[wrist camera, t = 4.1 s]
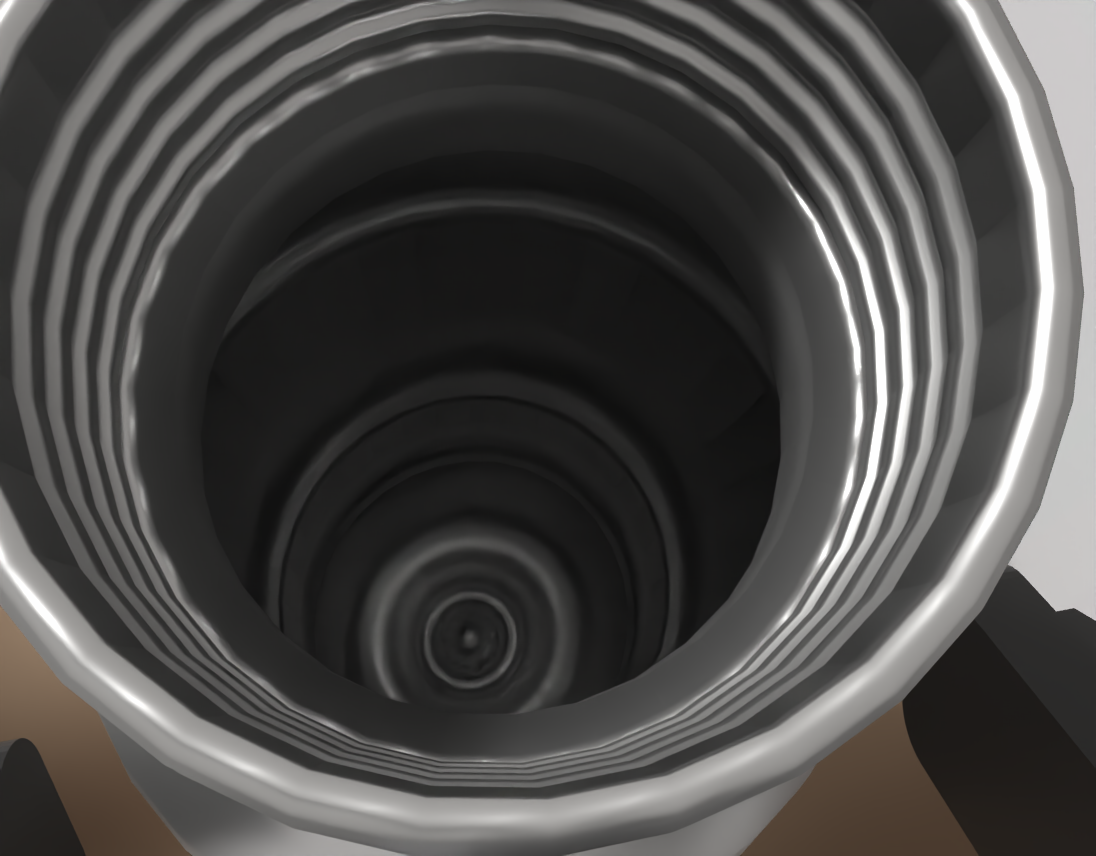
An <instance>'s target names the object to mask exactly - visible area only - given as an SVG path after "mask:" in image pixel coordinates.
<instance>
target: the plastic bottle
mask: <svg viewBox="0 0 1096 856" xmlns="http://www.w3.org/2000/svg"><path fill="white" fill-rule="evenodd" d="M1083 298H1084V287H1083V277H1082V267H1081V257H1080V247H1079V237H1078V226H1077V216H1076V206H1075V196H1074V187H1073V184H1072V181H1071V177H1070V174H1069V171H1068V167H1067V164H1066V161H1065V157H1064V154H1063V151H1062V147H1061V144H1060V141H1059V137H1058V134H1057V131H1056V127H1055V124H1054V121H1053V117H1052V114H1051V110H1050V107H1049V104H1048V100H1047V97H1046V94H1045V90H1044V88H1043V86H1042V84H1041V82H1040V80H1039V79H1038V77H1037V75H1036V73H1035V71H1034V69H1033V67H1032V65H1031V63H1030V61H1029V59H1028V57H1027V55H1026V53H1025V51H1024V49H1023V48H1022V46H1021V44H1020V42H1019V40H1018V38H1017V36H1016V34H1015V32H1014V30H1013V28H1012V26H1011V24H1010V22H1009V20H1008V18H1007V16H1006V15H1005V13H1004V11H1003V9H1002V7H1001V5H1000V3H999V1H998V0H0V605H1V607H2V608H3V609H4V611H5V612H6V613H7V614H8V616H9V617H10V618H11V619H12V621H13V622H14V623H15V624H16V626H17V627H18V628H19V629H20V631H21V632H22V633H23V635H24V636H25V637H26V638H27V640H28V641H29V642H30V643H31V645H32V646H33V647H34V648H35V650H36V651H37V652H38V653H39V655H40V656H41V657H42V658H43V660H44V661H45V662H46V664H47V665H48V666H49V667H50V669H51V670H52V671H53V672H54V674H55V675H56V676H57V677H58V679H59V680H60V681H61V682H62V684H64V685H65V686H66V687H67V688H69V689H70V690H71V691H72V692H74V693H75V694H76V695H77V696H79V697H80V698H81V699H82V700H84V701H85V702H86V703H87V704H89V705H90V706H91V707H92V708H94V709H95V710H96V711H97V712H98V714H99V716H100V718H101V720H102V722H103V724H104V726H105V728H106V730H107V732H108V735H109V737H110V739H111V741H112V743H113V745H114V747H115V749H116V751H117V753H118V755H119V757H120V759H121V761H122V763H123V765H124V767H125V769H126V772H127V774H128V776H129V778H130V780H131V782H132V783H133V784H134V786H135V787H136V788H137V789H138V791H139V792H140V793H141V794H142V796H143V797H144V798H145V799H146V801H147V802H148V803H149V805H150V806H151V807H152V808H153V810H154V811H155V812H156V813H157V815H158V816H159V817H160V818H161V820H162V821H163V822H164V823H165V825H166V826H167V827H168V829H169V830H170V831H171V832H172V834H173V835H174V836H175V837H176V839H177V840H178V841H179V842H180V844H181V845H182V846H183V847H184V849H185V850H186V851H187V852H189V853H190V854H191V855H192V856H740V855H741V854H742V853H743V852H744V851H745V850H746V848H747V847H748V846H749V845H750V844H751V843H752V842H753V841H754V839H755V838H756V837H757V836H758V835H759V834H760V833H761V832H762V830H763V829H764V828H765V827H766V826H767V825H768V824H769V823H770V821H771V820H772V819H773V818H774V817H775V816H776V815H777V814H778V812H779V811H780V810H781V809H782V808H783V807H784V806H785V805H786V804H787V802H788V801H789V800H790V799H791V798H792V797H793V796H794V795H795V793H796V792H797V791H798V790H799V789H800V787H801V786H802V785H803V783H804V782H805V781H806V779H807V778H808V777H809V775H810V774H811V772H812V770H813V769H814V767H815V765H816V764H817V763H818V762H820V761H821V760H822V759H824V758H825V757H826V756H828V755H829V754H831V753H832V752H833V751H835V750H836V749H837V748H839V747H840V746H841V745H843V744H844V743H845V742H847V741H848V740H849V739H851V738H852V737H854V736H855V735H856V734H858V733H859V732H860V731H862V730H863V729H864V728H866V727H867V726H868V725H870V724H871V723H873V722H874V721H875V720H877V719H878V718H879V717H881V716H882V715H883V714H885V713H886V712H887V711H889V710H890V709H892V708H893V707H894V706H896V705H897V704H898V703H900V702H901V701H902V700H903V699H904V698H905V697H906V696H907V695H908V693H909V692H910V691H911V690H912V689H913V688H914V687H915V686H916V684H917V683H918V682H919V681H920V680H921V679H922V678H923V676H924V675H925V674H926V673H927V672H928V671H929V670H930V669H931V667H932V666H933V665H934V664H935V663H936V662H937V661H938V659H939V658H940V657H941V656H942V655H943V654H944V653H945V652H946V650H947V649H948V648H949V647H950V646H951V645H952V644H953V642H954V641H955V640H956V639H957V638H958V637H959V636H960V634H961V633H962V632H963V631H964V630H965V629H966V628H967V627H968V625H969V624H970V623H971V622H972V621H973V620H974V619H975V617H976V616H977V615H978V614H979V613H980V612H981V611H982V609H983V608H984V606H985V604H986V602H987V601H988V599H989V597H990V595H991V593H992V592H993V590H994V588H995V586H996V585H997V583H998V581H999V579H1000V577H1001V576H1002V574H1003V572H1004V570H1005V569H1006V567H1007V565H1008V563H1009V561H1010V560H1011V558H1012V556H1013V554H1014V553H1015V551H1016V549H1017V547H1018V545H1019V544H1020V542H1021V540H1022V538H1023V537H1024V535H1025V533H1026V531H1027V529H1028V528H1029V526H1030V524H1031V522H1032V521H1033V519H1034V517H1035V515H1036V513H1037V512H1038V510H1039V508H1040V505H1041V502H1042V499H1043V495H1044V492H1045V489H1046V486H1047V483H1048V479H1049V476H1050V473H1051V470H1052V467H1053V464H1054V460H1055V457H1056V454H1057V451H1058V448H1059V444H1060V441H1061V438H1062V435H1063V432H1064V429H1065V425H1066V422H1067V419H1068V416H1069V413H1070V409H1071V406H1072V403H1073V398H1074V388H1075V378H1076V368H1077V358H1078V348H1079V338H1080V328H1081V318H1082V308H1083Z"/></svg>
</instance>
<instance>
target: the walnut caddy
mask: <svg viewBox="0 0 1096 856" xmlns="http://www.w3.org/2000/svg"><path fill="white" fill-rule="evenodd" d="M19 738H26V739H28V740H30V741H31V742H32V743H33V744H34V745H35V747H36V748H37V750H38V751H39V753H40V755H41V757H42V760H43V762H44V764H45V766H46V768H47V771H48V773H49V775H50V777H51V779H52V781H53V784H54V786H55V788H56V790H57V792H58V795H59V797H60V799H61V801H62V803H63V805H64V808H65V810H66V812H67V814H68V816H69V819H70V821H71V823H72V825H73V827H74V829H75V832H76V834H77V836H78V838H79V840H80V842H81V845H82V847H83V849H84V852H85V855H86V856H192V855H191V854H190V853H189V852H187V851H186V850H185V849H184V847H183V846H182V845H181V844H180V842H179V841H178V840H177V839H176V837H175V836H174V835H173V834H172V832H171V831H170V830H169V829H168V827H167V826H166V825H165V823H164V822H163V821H162V820H161V818H160V817H159V816H158V815H157V813H156V812H155V811H154V810H153V808H152V807H151V806H150V805H149V803H148V802H147V801H146V799H145V798H144V797H143V796H142V794H141V793H140V792H139V791H138V789H137V788H136V787H135V786H134V784H133V783H132V782H131V780H130V778H129V776H128V774H127V772H126V769H125V767H124V765H123V763H122V761H121V759H120V757H119V755H118V753H117V751H116V749H115V747H114V745H113V743H112V741H111V739H110V737H109V735H108V732H107V730H106V728H105V726H104V724H103V722H102V720H101V718H100V716H99V714H98V712H97V711H96V710H95V709H94V708H92V707H91V706H90V705H89V704H87V703H86V702H85V701H84V700H82V699H81V698H80V697H79V696H77V695H76V694H75V693H74V692H72V691H71V690H70V689H69V688H67V687H66V686H65V685H64V684H62V682H61V681H60V680H59V679H58V677H57V676H56V675H55V674H54V672H53V671H52V670H51V669H50V667H49V666H48V665H47V664H46V662H45V661H44V660H43V658H42V657H41V656H40V655H39V653H38V652H37V651H36V650H35V648H34V647H33V646H32V645H31V643H30V642H29V641H28V640H27V638H26V637H25V636H24V635H23V633H22V632H21V631H20V629H19V628H18V627H17V626H16V624H15V623H14V622H13V621H12V619H11V618H10V617H9V616H8V614H7V613H6V612H5V611H4V609H3V608H2V607H1V605H0V742H2V741H8V740H13V739H19ZM740 856H979V855H978V854H977V852H976V850H975V849H974V847H973V846H972V844H971V842H970V841H969V839H968V838H967V836H966V834H965V833H964V831H963V830H962V828H961V827H960V825H959V823H958V822H957V820H956V819H955V817H954V815H953V814H952V812H951V811H950V809H949V807H948V806H947V804H946V803H945V801H944V800H943V798H942V796H941V795H940V793H939V792H938V790H937V788H936V787H935V785H934V784H933V782H932V780H931V779H930V777H929V776H928V774H927V773H926V771H925V769H924V768H923V766H922V765H921V763H920V761H919V759H918V758H917V756H916V753H915V751H914V749H913V747H912V744H911V742H910V739H909V736H908V732H907V729H906V725H905V720H904V715H903V706H902V701H901V702H900V703H898V704H897V705H896V706H894V707H893V708H892V709H890V710H889V711H887V712H886V713H885V714H883V715H882V716H881V717H879V718H878V719H877V720H875V721H874V722H873V723H871V724H870V725H868V726H867V727H866V728H864V729H863V730H862V731H860V732H859V733H858V734H856V735H855V736H854V737H852V738H851V739H849V740H848V741H847V742H845V743H844V744H843V745H841V746H840V747H839V748H837V749H836V750H835V751H833V752H832V753H831V754H829V755H828V756H826V757H825V758H824V759H822V760H821V761H820V762H818V763H817V764H816V765H815V767H814V769H813V770H812V772H811V774H810V775H809V777H808V778H807V779H806V781H805V782H804V783H803V785H802V786H801V787H800V789H799V790H798V791H797V792H796V793H795V795H794V796H793V797H792V798H791V799H790V800H789V801H788V802H787V804H786V805H785V806H784V807H783V808H782V809H781V810H780V811H779V812H778V814H777V815H776V816H775V817H774V818H773V819H772V820H771V821H770V823H769V824H768V825H767V826H766V827H765V828H764V829H763V830H762V832H761V833H760V834H759V835H758V836H757V837H756V838H755V839H754V841H753V842H752V843H751V844H750V845H749V846H748V847H747V848H746V850H745V851H744V852H743V853H742V854H741V855H740Z"/></svg>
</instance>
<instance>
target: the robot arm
mask: <svg viewBox="0 0 1096 856" xmlns="http://www.w3.org/2000/svg"><path fill="white" fill-rule="evenodd" d="M902 706H903V715H904V720H905V725H906V729H907V732H908V736H909V739H910V742H911V744H912V747H913V749H914V751H915V753H916V756H917V758H918V759H919V761H920V763H921V765H922V766H923V768H924V769H925V771H926V773H927V774H928V776H929V777H930V779H931V780H932V782H933V784H934V785H935V787H936V788H937V790H938V792H939V793H940V795H941V796H942V798H943V800H944V801H945V803H946V804H947V806H948V807H949V809H950V811H951V812H952V814H953V815H954V817H955V819H956V820H957V822H958V823H959V825H960V827H961V828H962V830H963V831H964V833H965V834H966V836H967V838H968V839H969V841H970V842H971V844H972V846H973V847H974V849H975V850H976V852H977V854H978V855H979V856H1096V621H1095V620H1093V619H1092V618H1090V617H1088V616H1086V615H1085V614H1083V613H1081V612H1080V611H1078V610H1076V609H1074V608H1073V609H1068V610H1063V611H1057V612H1056V611H1055V610H1054V609H1053V608H1052V607H1051V606H1050V605H1049V603H1048V602H1047V601H1046V600H1045V599H1044V598H1043V597H1042V596H1041V595H1040V594H1039V593H1038V591H1037V590H1036V589H1035V588H1034V587H1033V586H1032V585H1031V584H1030V583H1029V582H1028V581H1027V580H1026V578H1025V577H1024V576H1023V575H1022V574H1021V573H1020V572H1018V571H1017V570H1016V569H1014V568H1013V567H1011V566H1009V565H1007V567H1006V569H1005V570H1004V572H1003V574H1002V576H1001V577H1000V579H999V581H998V583H997V585H996V586H995V588H994V590H993V592H992V593H991V595H990V597H989V599H988V601H987V602H986V604H985V606H984V608H983V609H982V611H981V612H980V613H979V614H978V615H977V616H976V617H975V619H974V620H973V621H972V622H971V623H970V624H969V625H968V627H967V628H966V629H965V630H964V631H963V632H962V633H961V634H960V636H959V637H958V638H957V639H956V640H955V641H954V642H953V644H952V645H951V646H950V647H949V648H948V649H947V650H946V652H945V653H944V654H943V655H942V656H941V657H940V658H939V659H938V661H937V662H936V663H935V664H934V665H933V666H932V667H931V669H930V670H929V671H928V672H927V673H926V674H925V675H924V676H923V678H922V679H921V680H920V681H919V682H918V683H917V684H916V686H915V687H914V688H913V689H912V690H911V691H910V692H909V693H908V695H907V696H906V697H905V698H904V699H903V700H902ZM0 856H86V855H85V852H84V849H83V847H82V845H81V842H80V840H79V838H78V836H77V834H76V832H75V829H74V827H73V825H72V823H71V821H70V819H69V816H68V814H67V812H66V810H65V808H64V805H63V803H62V801H61V799H60V797H59V795H58V792H57V790H56V788H55V786H54V784H53V781H52V779H51V777H50V775H49V773H48V771H47V768H46V766H45V764H44V762H43V760H42V757H41V755H40V753H39V751H38V750H37V748H36V747H35V745H34V744H33V743H32V742H31V741H30V740H28V739H26V738H19V739H13V740H8V741H2V742H0Z"/></svg>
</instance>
